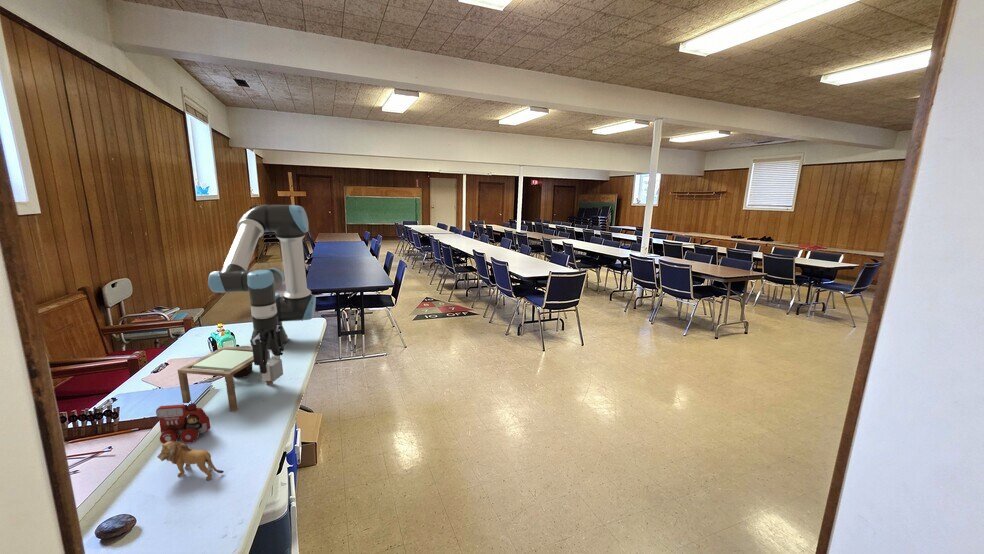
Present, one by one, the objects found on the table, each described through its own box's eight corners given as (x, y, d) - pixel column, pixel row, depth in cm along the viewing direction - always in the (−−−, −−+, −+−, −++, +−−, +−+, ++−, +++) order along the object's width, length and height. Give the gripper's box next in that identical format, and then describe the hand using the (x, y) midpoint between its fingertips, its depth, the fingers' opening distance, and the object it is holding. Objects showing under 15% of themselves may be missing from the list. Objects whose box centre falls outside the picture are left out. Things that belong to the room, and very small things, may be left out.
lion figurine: (157, 480, 94) (151, 449, 92) (174, 465, 99) (169, 435, 97) (217, 481, 95) (212, 450, 93) (231, 466, 100) (226, 436, 98)
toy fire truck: (204, 442, 109) (199, 410, 106) (154, 446, 106) (147, 413, 104) (216, 427, 115) (211, 397, 113) (169, 431, 113) (163, 400, 110)
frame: (228, 379, 144) (223, 346, 141) (272, 383, 142) (269, 349, 139) (183, 407, 125) (177, 369, 122) (234, 411, 123) (229, 374, 120)
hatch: (224, 351, 139) (224, 349, 138) (260, 354, 137) (260, 351, 137) (193, 368, 126) (192, 365, 125) (232, 371, 124) (231, 368, 124)
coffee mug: (242, 380, 143) (239, 356, 141) (223, 377, 145) (220, 353, 143) (266, 367, 154) (264, 344, 152) (248, 364, 156) (245, 341, 154)
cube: (270, 373, 138) (268, 358, 137) (283, 374, 138) (281, 359, 136) (260, 380, 133) (258, 364, 132) (274, 381, 133) (272, 365, 131)
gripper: (256, 325, 121) (264, 390, 126) (291, 307, 138) (297, 365, 144) (234, 323, 121) (243, 388, 127) (272, 306, 139) (278, 363, 145)
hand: (272, 376), depth 136 cm, fingers closed on cube, 5 cm apart
